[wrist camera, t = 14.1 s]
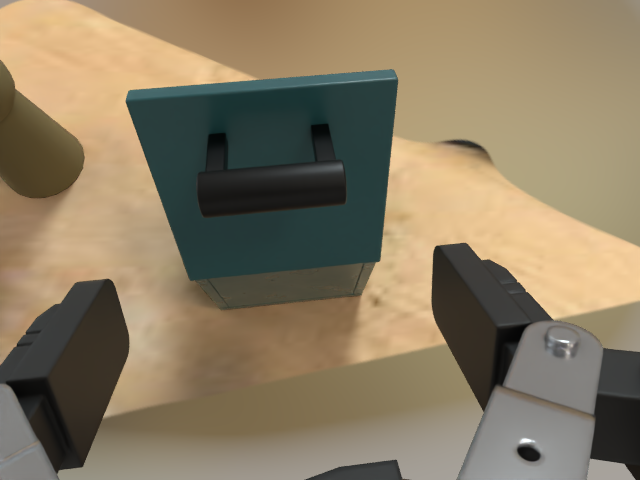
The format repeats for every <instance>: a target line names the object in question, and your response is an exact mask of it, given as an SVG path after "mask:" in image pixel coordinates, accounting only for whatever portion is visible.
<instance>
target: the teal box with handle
mask: <svg viewBox="0 0 640 480" xmlns="http://www.w3.org/2000/svg"><path fill="white" fill-rule="evenodd" d="M397 85H398V78H397V76H396V73H395V71H394V70H392V69H390V70H378V71H366V72H353V73H340V74H328V75H315V76H304V77H290V78H278V79H265V80H252V81H240V82H227V83H214V84H202V85H189V86H177V87H164V88H151V89H139V90H130V91H128V94H127V98H126V104H127V107H128V110H129V113H130V115H131V118H132V121H133V124H134V127H135V129H136V132H137V135H138V138H139V140H140V143H141V146H142V149H143V152H144V154H145V157H146V160H147V163H148V166H149V168H150V171H151V174H152V177H153V179H154V182H155V185H156V188H157V191H158V193H159V196H160V199H161V202H162V205H163V207H164V210H165V213H166V216H167V218H168V221H169V224H170V227H171V230H172V232H173V235H174V238H175V241H176V243H177V246H178V249H179V252H180V255H181V257H182V260H183V263H184V266H185V269H186V271H187V274H188V277H189V280H190V281H195V280H205V279H214V278H224V277H234V276H244V275H254V274H264V273H273V272H283V271H293V270H303V269H313V268H323V267H332V266H342V265H352V264H362V263H372V262H379V261H380V258H381V248H382V238H383V228H384V217H385V207H386V197H387V187H388V177H389V167H390V157H391V147H392V137H393V127H394V117H395V106H396V96H397Z"/></svg>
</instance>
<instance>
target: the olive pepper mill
mask: <svg viewBox="0 0 640 480" xmlns="http://www.w3.org/2000/svg"><path fill="white" fill-rule="evenodd" d="M83 162H84V153H83V148H82V146H81V144H80V143H79V141H78V140H77V138H75V137H74V136H73V135H72V134H70V133H69V132H68V131H67V130H66V129H64V128H63V127H62V126H61V125H59V124H58V123H57V122H56V121H54V120H53V119H52V118H51V117H49V116H48V115H47V114H46V113H45V112H43V111H42V110H41V109H40V108H38V107H37V106H36V105H35V104H33V103H32V102H31V101H30V100H28V99H27V98H26V97H25V96H24V95H22V94H21V93H20V92H19V91H17V90H16V89H15V84H14V80H13V78H12V76H11V74H10V72H9V71H8V69H7V67H6V66H5V65H4V63H3V62H2V61H1V60H0V176H1V177H2V178H3V180H4V181H5V182H6V183H7V184H8V185H9V186H10V187H11V188H12V189H13V190H15V191H16V192H17V193H18V194H20V195H23V196H27V197H30V198H45V197H48V196H52V195H56V194H58V193H59V192H61V191H63V190H65V189H66V188H68V187H69V186H70V185H71V184H72V183H73V182H74V181H75V180H76V179H77V177H78V175H79V174H80V172H81V170H82V168H83Z"/></svg>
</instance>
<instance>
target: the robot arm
mask: <svg viewBox="0 0 640 480" xmlns="http://www.w3.org/2000/svg"><path fill="white" fill-rule="evenodd" d="M432 310H433V315H434V318H435V321H436V324H437V326H438V327H439V329H440V331H441V333H442V335H443V337H444V339H445V340H446V342H447V344H448V346H449V348H450V350H451V352H452V354H453V355H454V357H455V359H456V361H457V363H458V365H459V366H460V369H461V370H462V372H463V374H464V376H465V378H466V380H467V382H468V383H469V385H470V387H471V389H472V391H473V393H474V394H475V397H476V398H477V400H478V402H479V404H480V406H481V408H482V410H483V412H484V414H483V416H482V418H481V421H480V423H479V426H478V428H477V431H476V433H475V436H474V438H473V440H472V443H471V445H470V448H469V450H468V453H467V455H466V458H465V460H464V463H463V465H462V467H461V470H460V472H459V475H458V477H457V480H587V474H588V468H589V461H590V459H597V460H603V461H610V462H617V463H623V464H625V465H626V467H627V468H628V470H629V471H630V472H631V473H632V475H633V477H634V478H635V479H636V480H640V352H633V351H623V350H613V349H606V348H603V347H602V344H601V342H600V341H599V340H598V339H597V338H596V337H595V336H594V335H593V334H592V333H590V332H589V331H587V330H586V329H583V328H581V327H579V326H577V325H574V324H570V323H567V322H562V321H554V320H553V319H552V318H551V317H550V316H549V315H548V314H547V313H546V311H545V310H544V309H543V308H542V307H541V306H540V305H539V304H538V303H537V302H536V301H535V299H534V298H533V297H532V296H531V295H530V294H529V293H528V292H526V291H525V289H524V287H523V286H522V285H521V284H520V283H519V282H518V283H517V280H516V279H515V278H514V277H513V276H512V274H511V273H510V272H509V271H508V270H507V269H506V268H504V267H502V266H500V265H498V264H496V263H495V262H493V261H491V260H481V259H480V258H479V257H478V256H477V255H476V253H475V252H474V251H473V250H472V249H471V248H470V246H469V245H468V244H467V243H459V244H449V245H440V246H436V247H435V249H434V253H433V274H432ZM128 353H129V334H128V329H127V326H126V323H125V319H124V316H123V312H122V309H121V305H120V302H119V298H118V295H117V292H116V288H115V286H114V283H113V282H112V281H111V280H110V279H103V280H93V281H83V282H77V283H75V284H74V285H73V287H72V288H71V290H70V291H69V292H68V294H67V295H66V297H65V298H64V300H63V301H62V302H61V304H55V305H54V306H52V307H51V308H49V309H48V310H47V311H45V312H44V313H43V314H41V315H40V316H38V317H37V318H36V319H35V321H34V322H33V323H32V325H31V326H30V327H29V329H28V330H27V331H26V335H23V337H22V338H21V339H20V340H19V342H18V343H17V347H14V348H13V350H12V351H11V352H10V354H9V355H8V356H7V358H6V359H5V360H4V362H3V363H2V364H1V366H0V480H59V478H58V476H57V473H58V471H59V470H63V469H71V468H79V467H83V465H84V462H85V460H86V457H87V455H88V452H89V450H90V448H91V445H92V442H93V440H94V438H95V435H96V433H97V430H98V428H99V425H100V423H101V421H102V418H103V416H104V413H105V411H106V408H107V406H108V404H109V401H110V399H111V396H112V394H113V391H114V389H115V386H116V384H117V382H118V379H119V377H120V374H121V372H122V369H123V367H124V364H125V362H126V359H127V357H128ZM306 480H407V479H402V477H401V473H400V469H399V466H398V462H397V460H391V461H382V462H375V463H367V464H360V465H352V466H344V467H338V468H335V469H333V470H330V471H328V472H325V473H322V474H319V475H317V476H314V477H311V478H309V479H306Z"/></svg>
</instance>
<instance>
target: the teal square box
mask: <svg viewBox="0 0 640 480" xmlns="http://www.w3.org/2000/svg"><path fill="white" fill-rule="evenodd" d="M375 263H376V262H372V263H362V264H352V265H342V266H332V267H323V268H313V269H303V270H293V271H283V272H273V273H264V274H254V275H244V276H234V277H224V278H214V279H205V280H195V281H196V282H197V283H198V284H199V285H200V287H201V288H202V289H203V290H204V291H205V292H206V294H207V295H208V296H209V297H210V298H211V299H212V300H213V302H214V303H215V304H216V305H217V306H218V307H219V308H220V310H227V309H236V308H246V307H255V306H265V305H274V304H284V303H293V302H303V301H312V300H322V299H331V298H341V297H350V296H360V295H362V293H363V290H364V288H365V286H366V284H367V281H368V279H369V277H370V275H371V272H372V270H373V268H374V266H375Z"/></svg>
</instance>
